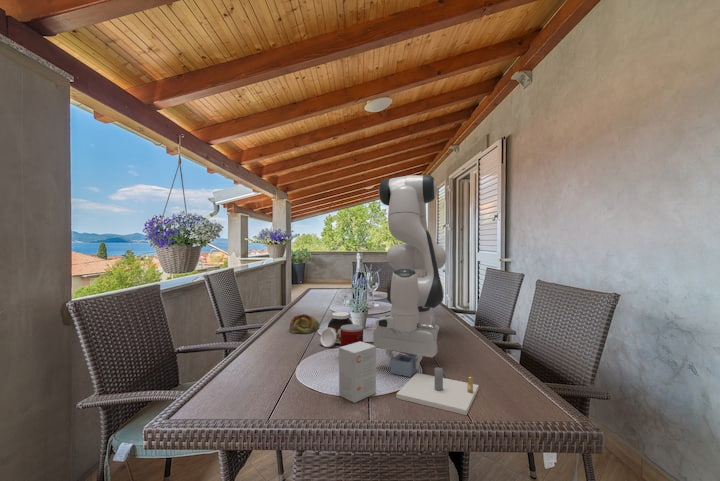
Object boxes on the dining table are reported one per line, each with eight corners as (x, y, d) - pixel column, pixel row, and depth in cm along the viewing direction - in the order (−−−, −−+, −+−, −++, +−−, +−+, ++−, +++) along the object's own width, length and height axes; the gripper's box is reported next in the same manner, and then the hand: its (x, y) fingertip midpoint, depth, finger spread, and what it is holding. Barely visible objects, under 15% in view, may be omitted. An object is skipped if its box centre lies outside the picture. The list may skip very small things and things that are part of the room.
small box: (360, 386, 99) (360, 340, 99) (376, 393, 94) (376, 345, 94) (338, 395, 93) (338, 346, 93) (354, 403, 89) (354, 352, 89)
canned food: (360, 363, 117) (360, 330, 116) (337, 361, 118) (337, 329, 118) (365, 355, 124) (365, 324, 124) (343, 354, 126) (343, 323, 126)
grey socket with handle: (405, 360, 119) (405, 345, 119) (423, 363, 116) (423, 348, 116) (390, 373, 108) (390, 357, 108) (410, 377, 105) (410, 360, 105)
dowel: (468, 390, 94) (468, 375, 94) (473, 391, 93) (473, 376, 93) (466, 392, 93) (467, 377, 93) (472, 393, 92) (472, 378, 92)
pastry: (292, 336, 148) (292, 317, 148) (286, 328, 160) (286, 311, 160) (324, 332, 154) (324, 314, 153) (316, 325, 165) (316, 309, 165)
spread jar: (354, 340, 142) (354, 312, 141) (349, 349, 130) (349, 318, 130) (326, 339, 144) (326, 311, 144) (318, 347, 133) (318, 317, 132)
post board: (416, 376, 106) (416, 354, 106) (478, 389, 97) (478, 365, 97) (396, 398, 92) (396, 372, 92) (466, 415, 83) (466, 387, 83)
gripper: (440, 323, 106) (440, 368, 107) (379, 316, 116) (379, 357, 117) (434, 328, 101) (434, 376, 101) (371, 320, 111) (371, 363, 111)
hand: (404, 365), depth 109 cm, fingers closed on grey socket with handle, 6 cm apart
